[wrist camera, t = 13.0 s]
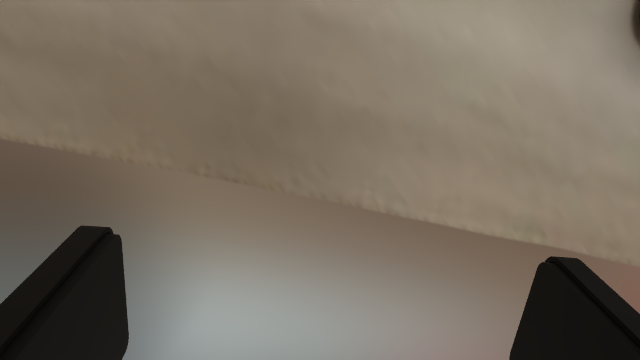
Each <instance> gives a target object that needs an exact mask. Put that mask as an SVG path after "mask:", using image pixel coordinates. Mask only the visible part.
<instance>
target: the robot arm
mask: <svg viewBox="0 0 640 360" xmlns="http://www.w3.org/2000/svg"><path fill="white" fill-rule="evenodd" d="M123 267H124V266H123V253H122V242H121V237H120V236H119V235H116V234H113V231H112V229H111V228H110V227H96V226H80V227H78V228H77V229H76V230H75V231H74V232H73V233H72V234H71V235H70V236H69V237H68V238H67V239H66V240H65V241H64V242H63V243H62V244H61V245H60V246H59V247H58V248H57V249H56V250H55V251H54V252H53V253H52V254H51V255H50V256H49V257H48V258H47V259H46V260H45V261H44V262H43V263H42V264H41V265H40V266H39V267H38V268H37V269H36V270H35V271H34V272H33V273H32V274H31V275H30V276H29V277H28V278H27V279H26V280H25V281H24V282H23V283H22V284H20V285H19V287H17V288H16V289H15V290H14V292H12V293H11V295H9V296H8V297H7V298H6V299H5V300H4V301H3V302H2V303H1V304H0V360H122V358H123V356H124V354H125V352H126V349H127V345H128V339H129V333H128V319H127V306H126V293H125V280H124V268H123ZM510 360H640V314H639V313H638V312H637V311H636V310H634V309H633V308H632V307H631V306H630V305H629V304H628V303H627V302H626V301H625V300H624V299H622V298H621V297H620V296H619V295H618V294H617V293H616V292H615V291H613V289H611V288H610V287H609V286H608V285H607V284H606V283H605V282H604V281H603V280H602V279H600V278H599V277H598V276H597V275H596V274H595V273H594V272H593V271H592V270H591V269H589V268H588V267H587V266H586V265H585V264H584V263H583V262H582V261H581V260H579V259H577V258H567V257H566V258H565V257H549V258H547V260H546V261H545V262H542V263H541V264H539V266H538V268H537V271H536V274H535V277H534V280H533V283H532V286H531V289H530V293H529V296H528V299H527V302H526V305H525V308H524V311H523V315H522V318H521V321H520V324H519V327H518V330H517V333H516V337H515V340H514V343H513V346H512V349H511V352H510Z"/></svg>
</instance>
